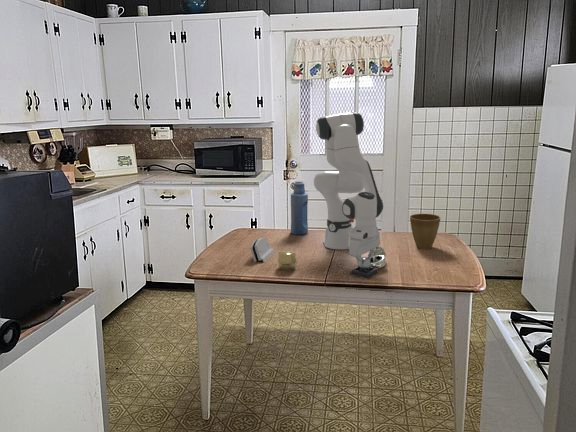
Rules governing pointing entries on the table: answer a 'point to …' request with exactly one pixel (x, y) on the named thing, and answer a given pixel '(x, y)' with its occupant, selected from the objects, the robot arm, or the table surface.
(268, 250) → the grey bevelled device
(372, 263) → the butterfly valve
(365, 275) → the flange socket
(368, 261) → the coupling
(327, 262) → the table surface
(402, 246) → the table surface
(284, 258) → the cylinder
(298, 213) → the bottle
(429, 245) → the plant pot
